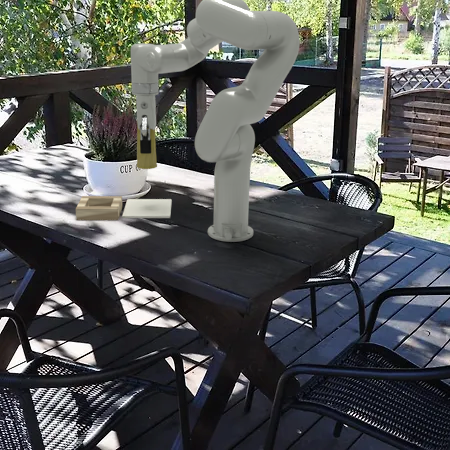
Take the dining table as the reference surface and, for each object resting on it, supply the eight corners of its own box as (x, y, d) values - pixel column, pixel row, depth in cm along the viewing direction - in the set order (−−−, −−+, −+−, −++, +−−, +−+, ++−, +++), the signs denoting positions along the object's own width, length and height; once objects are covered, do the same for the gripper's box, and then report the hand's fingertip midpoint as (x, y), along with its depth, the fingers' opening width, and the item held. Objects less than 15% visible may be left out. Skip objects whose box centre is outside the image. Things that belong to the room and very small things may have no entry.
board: (170, 218, 177) (170, 216, 177) (122, 217, 176) (122, 216, 176) (171, 201, 192) (171, 199, 192) (127, 200, 191) (127, 199, 191)
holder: (118, 220, 174) (117, 208, 173) (76, 220, 174) (75, 208, 172) (122, 206, 186) (122, 196, 184) (83, 206, 185) (82, 196, 184)
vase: (132, 167, 178) (131, 119, 173) (144, 163, 183) (143, 116, 178) (149, 170, 176) (148, 121, 171) (161, 165, 181) (160, 118, 176)
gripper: (156, 93, 164) (158, 158, 170) (159, 85, 180) (160, 144, 186) (129, 92, 163) (131, 157, 170) (134, 84, 179) (136, 144, 186)
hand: (146, 150), depth 178 cm, fingers closed on vase, 5 cm apart
